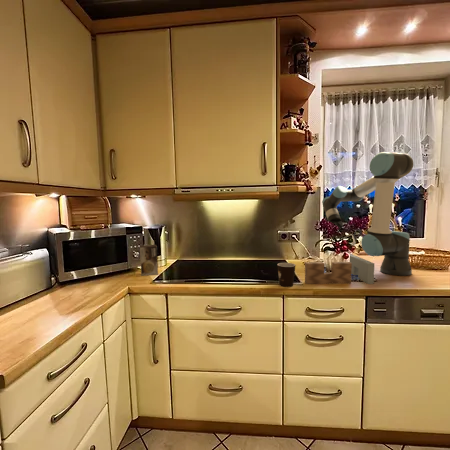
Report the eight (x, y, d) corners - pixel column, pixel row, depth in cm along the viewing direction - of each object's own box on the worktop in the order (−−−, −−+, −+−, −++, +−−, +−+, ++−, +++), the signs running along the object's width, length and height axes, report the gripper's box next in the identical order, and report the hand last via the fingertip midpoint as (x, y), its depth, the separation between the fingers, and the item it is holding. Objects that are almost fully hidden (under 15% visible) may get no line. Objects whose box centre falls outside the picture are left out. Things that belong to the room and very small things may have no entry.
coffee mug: (295, 288, 135) (295, 267, 134) (276, 287, 137) (277, 266, 136) (294, 281, 146) (295, 261, 145) (277, 280, 148) (277, 261, 147)
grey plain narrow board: (345, 271, 165) (346, 254, 164) (350, 271, 165) (351, 253, 164) (367, 283, 141) (368, 263, 140) (373, 283, 141) (374, 263, 140)
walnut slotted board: (348, 281, 145) (348, 261, 144) (351, 283, 142) (351, 263, 141) (304, 282, 144) (305, 262, 143) (306, 283, 141) (307, 263, 140)
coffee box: (157, 271, 168) (156, 244, 166) (158, 274, 161) (157, 246, 160) (140, 273, 165) (139, 245, 163) (141, 276, 159) (140, 247, 157)
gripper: (350, 220, 187) (361, 247, 174) (312, 221, 187) (320, 248, 173) (354, 213, 182) (366, 240, 168) (315, 213, 181) (323, 240, 167)
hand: (343, 244), depth 171 cm, fingers open, 13 cm apart
